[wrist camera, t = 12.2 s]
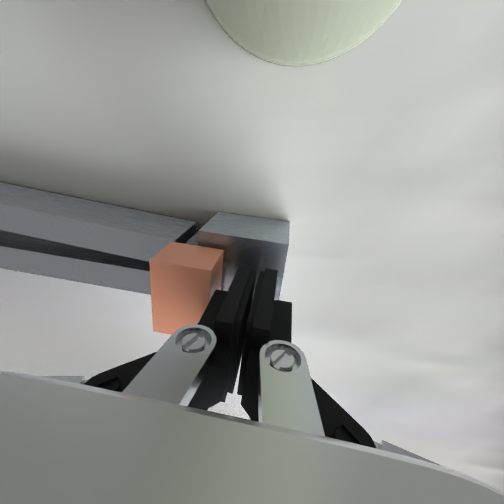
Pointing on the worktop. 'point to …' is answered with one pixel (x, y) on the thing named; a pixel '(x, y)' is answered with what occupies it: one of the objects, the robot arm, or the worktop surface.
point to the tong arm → (89, 223)
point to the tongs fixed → (138, 271)
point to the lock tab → (183, 284)
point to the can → (300, 26)
